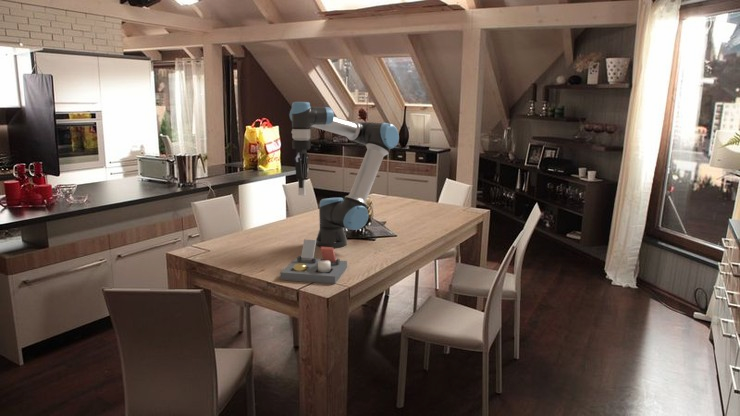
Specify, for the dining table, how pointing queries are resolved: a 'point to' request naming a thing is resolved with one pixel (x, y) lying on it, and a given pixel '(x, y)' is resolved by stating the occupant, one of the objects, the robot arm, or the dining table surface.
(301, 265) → the button brass
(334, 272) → the panel
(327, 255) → the paddle red
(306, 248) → the paddle grey
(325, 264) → the button white
